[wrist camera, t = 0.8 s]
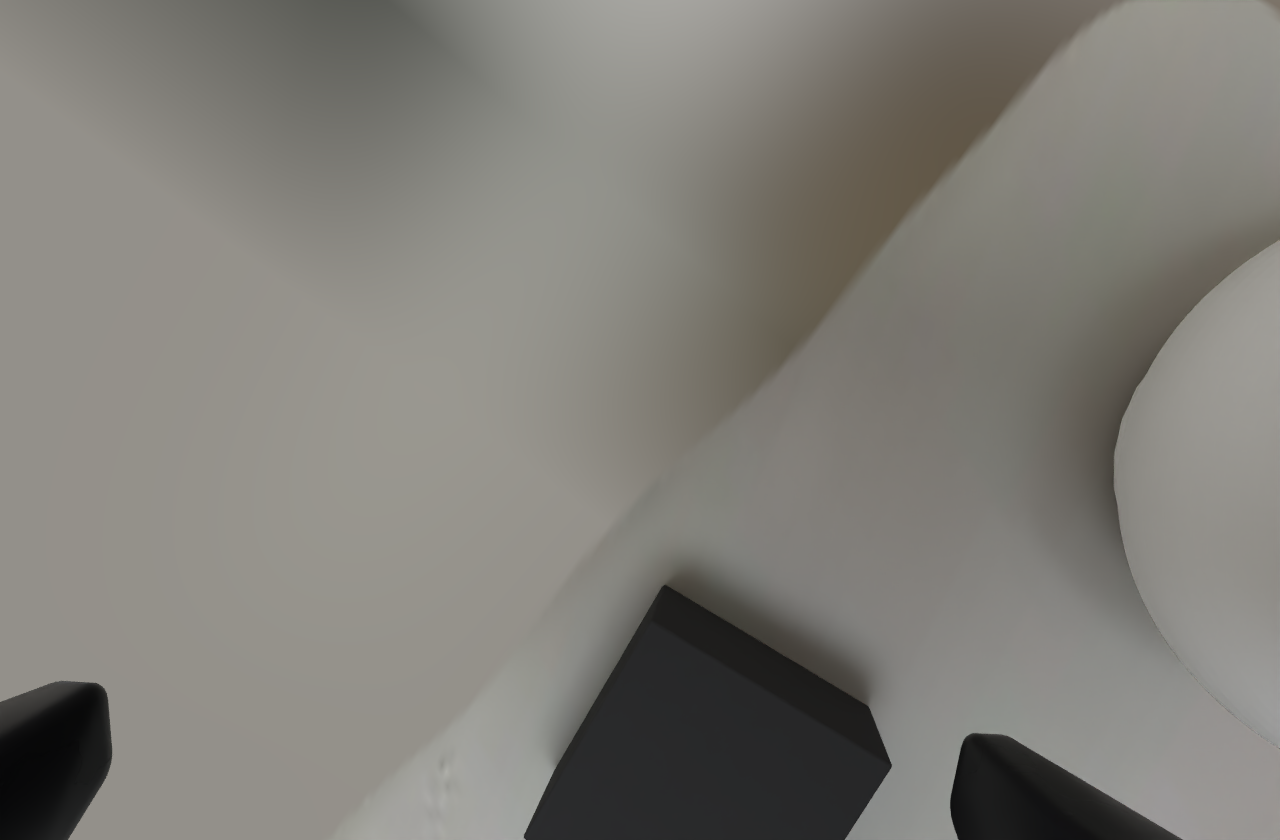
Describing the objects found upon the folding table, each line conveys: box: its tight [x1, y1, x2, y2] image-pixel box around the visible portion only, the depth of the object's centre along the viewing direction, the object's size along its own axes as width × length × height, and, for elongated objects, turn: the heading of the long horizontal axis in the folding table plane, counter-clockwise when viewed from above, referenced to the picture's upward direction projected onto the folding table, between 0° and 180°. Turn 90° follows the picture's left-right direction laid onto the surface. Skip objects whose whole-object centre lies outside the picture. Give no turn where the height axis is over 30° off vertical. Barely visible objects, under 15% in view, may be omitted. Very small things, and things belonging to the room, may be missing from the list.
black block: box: [524, 585, 892, 840], centre depth 18 cm, size 6×6×3 cm
